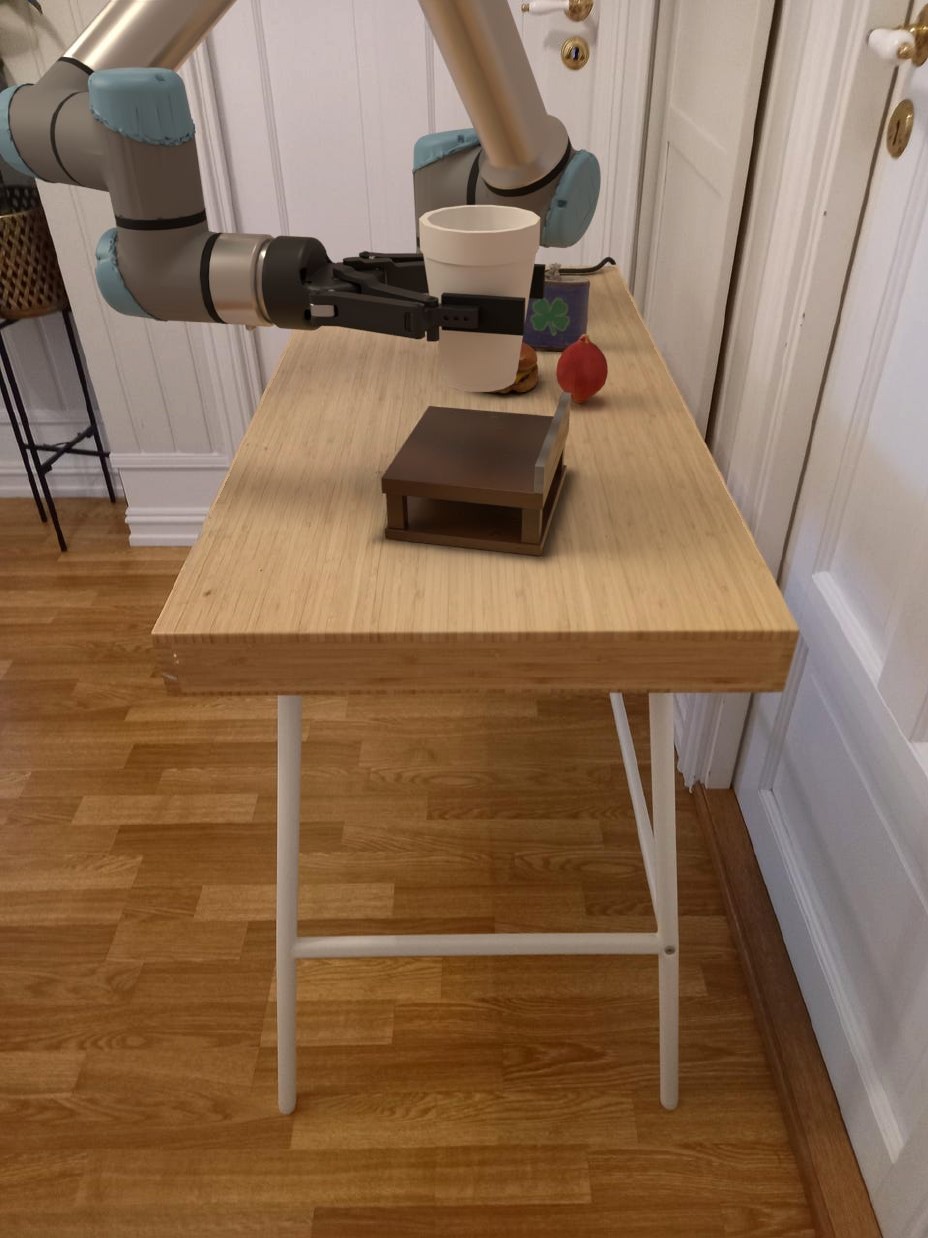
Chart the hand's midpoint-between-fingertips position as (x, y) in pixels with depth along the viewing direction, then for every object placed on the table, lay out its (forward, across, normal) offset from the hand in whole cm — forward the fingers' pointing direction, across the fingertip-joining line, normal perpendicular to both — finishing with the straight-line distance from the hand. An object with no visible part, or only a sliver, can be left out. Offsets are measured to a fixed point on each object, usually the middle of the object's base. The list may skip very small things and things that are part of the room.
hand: (534, 298), depth 76 cm
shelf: (-4, 0, -19) cm, 20 cm away
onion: (+2, -26, -20) cm, 33 cm away
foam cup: (-5, 0, -7) cm, 9 cm away
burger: (-9, -31, -20) cm, 37 cm away
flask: (-5, -44, -20) cm, 48 cm away
